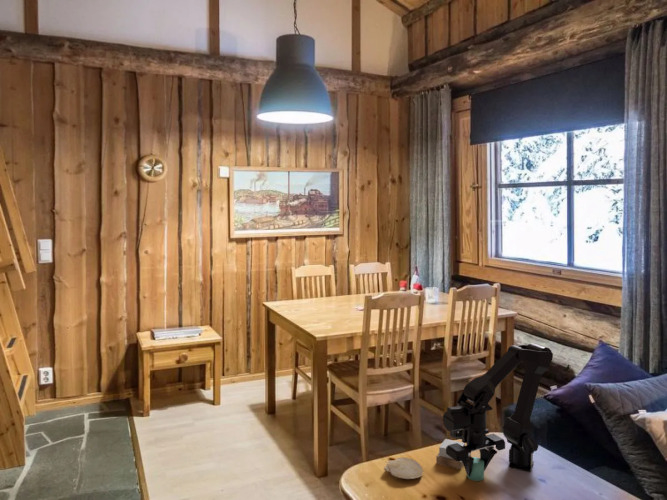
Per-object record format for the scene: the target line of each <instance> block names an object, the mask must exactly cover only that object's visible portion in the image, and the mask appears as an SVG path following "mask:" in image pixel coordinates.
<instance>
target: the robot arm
mask: <svg viewBox="0 0 667 500" xmlns="http://www.w3.org/2000/svg"><path fill="white" fill-rule="evenodd" d="M553 357H554V354H553V352H552V350H551V348H549V347H547V346H544V345H541V344H538V343H536V342H530V343H529V344H519V345H515V344H514V345H510V346H509V347H508V348H507V350H506V352H505V353H504V354H502V356H501V357H500V358H499V359H498V360H497V361H496V362H495V363H494V364H493V365H492V366H491V367H490V368H489V369H488V370H487V371H486V372H485V373H484V374H482V375H481V376H478V377H475V378H473V379H472V380H470V381H469V382H467V384H465V386H463V387H464V388H463V391H462V392H461V394H460V396H459V398H458V399H457V401H456V405H457V406H456V405H455V406H448V407H446V411H445V412H443V413H444V414H443V415H442V422H443V426H444V427H445V429H446V430H447V431H448V432H449V435H450V438H452V439H455V441H457V440H461V442H462V443H465V446H461V445H460V444H458V443H455V444H451V445H448V446H447V447H446V454H447V455H448V456H450V457H451V458H453V459H454V460H456V461H459V462H460V461H462V462H463V468H464V469H465V474H466V476H467V475H468V476H470V475H471V472H472V466H473V461H474V458H472V453H473V452H475V451H479V453H480V455H479V458H480V459H482V460H483V461H484V472H485V471H486V470H487V468H488V465H490V463H491V461H492V460H493V458H494V456H495V455H496V454H498V451H503V450H505V449H506V441H507V443H508V444H510V447H509V450H508V462H509V466H508V467H510V468H514V469H517V470H522V471H526V472H531V471H532V469H533V467H534V466H533V465H534V463H535V462H534V461H533V459H534V457H533V456H534V452H537V451H538V448H539V443H538V442H537V441H536V439H534V438H533V426H532V421H531V418H532V417H531V416H532V413H533V409H534V405H535V402H536V398H537V393H538V389H539V387H540V382H541V379H542V375H543V374H545V372H546V371H547V370H548V369H549V368H550V365H551V363H552V360H553ZM521 362H523V366H524V374H523V378H522V381H521V386H520V390H519V394H518V396H517V397H518V398H517V401H516V405H515V408H514V412H513V413H512V414H511V415H510V416H509V417H508V416H506V417H505V418H504V424H503V426H502V430H503V431H502V434H503V436H504V438H505V440H506V441H505V440H504V439H503V438H502V437H500V436H499V435H497V434H495V433H491V434H490V430H489V429H488V428H487V411H488V412H489V411H492V410H493V409H494V408H493V407H492V406H491V405H490V404H489V403H490V402H491V400H492V398H493V397H494V396H495V392H496V388H497V387H498V386H499V384H501V382H503V380H505V378H507V377H508V375H509V374H510V373H511V372H513V370H514V369H515V368H516V367H517V366H518V365H519V364H520V363H521ZM468 401H469V402H468ZM472 403H473V404H472Z"/></svg>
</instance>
